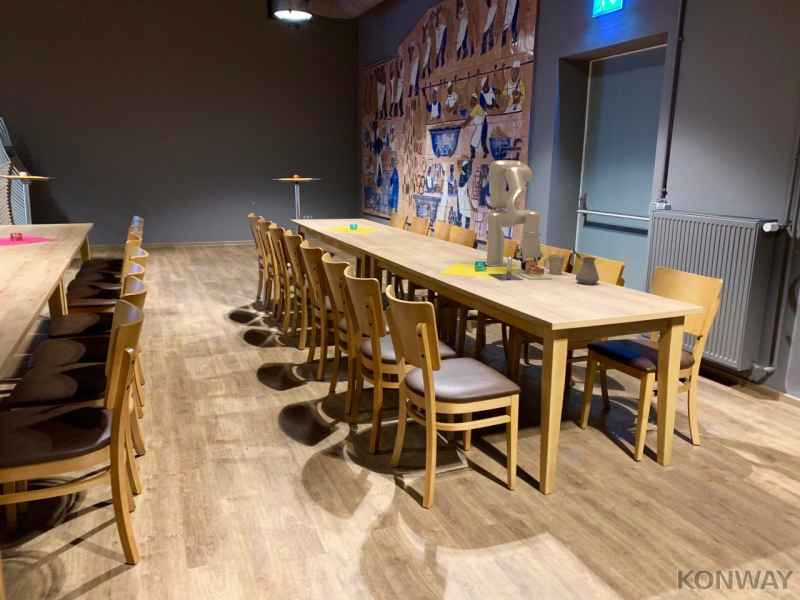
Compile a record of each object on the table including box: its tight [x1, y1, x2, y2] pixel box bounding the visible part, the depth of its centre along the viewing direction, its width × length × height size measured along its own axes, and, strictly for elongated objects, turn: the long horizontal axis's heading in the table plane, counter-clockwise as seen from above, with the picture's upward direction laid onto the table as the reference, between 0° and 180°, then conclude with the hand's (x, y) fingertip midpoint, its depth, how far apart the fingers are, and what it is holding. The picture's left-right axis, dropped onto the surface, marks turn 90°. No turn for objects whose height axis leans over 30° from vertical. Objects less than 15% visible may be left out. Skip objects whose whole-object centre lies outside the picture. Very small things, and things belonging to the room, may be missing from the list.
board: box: [513, 270, 553, 281], centre depth 325 cm, size 20×12×2 cm, turn 15°
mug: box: [543, 254, 565, 276], centre depth 340 cm, size 8×13×10 cm, turn 39°
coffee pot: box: [571, 249, 600, 286], centre depth 318 cm, size 21×12×15 cm, turn 17°
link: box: [523, 259, 545, 275], centre depth 324 cm, size 14×6×5 cm, turn 15°
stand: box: [487, 256, 525, 282], centre depth 321 cm, size 18×13×12 cm
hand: (528, 269), depth 329 cm, fingers open, 5 cm apart
